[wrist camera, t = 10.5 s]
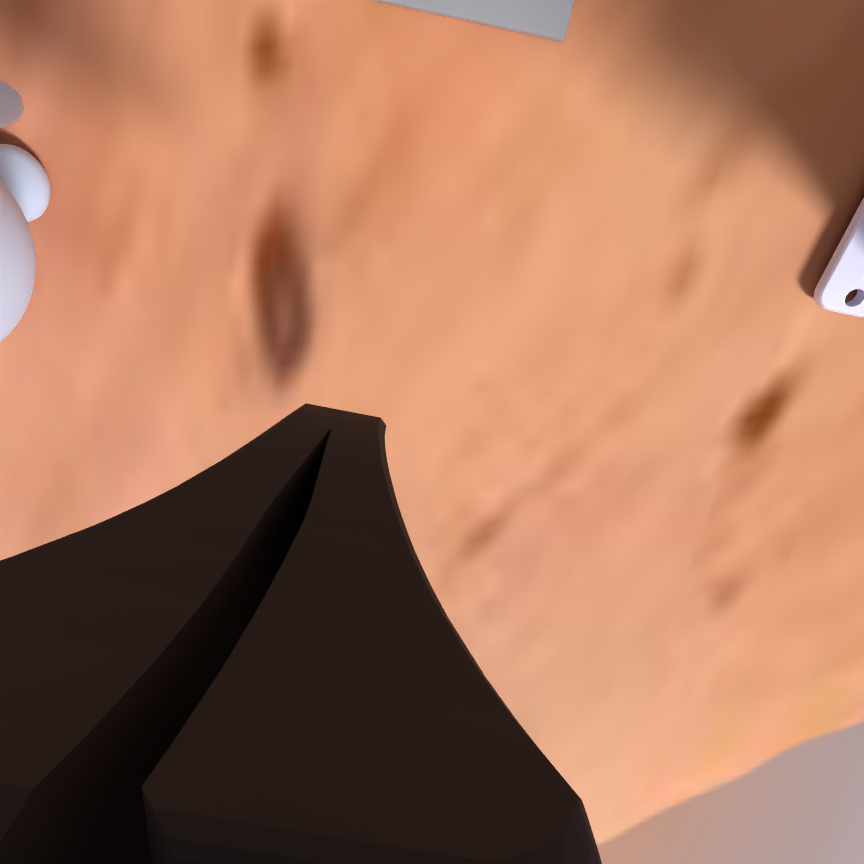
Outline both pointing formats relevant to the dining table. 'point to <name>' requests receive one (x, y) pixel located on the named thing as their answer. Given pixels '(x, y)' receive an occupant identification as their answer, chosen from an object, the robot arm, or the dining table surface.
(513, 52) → the dining table surface
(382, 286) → the dining table surface
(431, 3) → the build board
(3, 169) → the toy figure
